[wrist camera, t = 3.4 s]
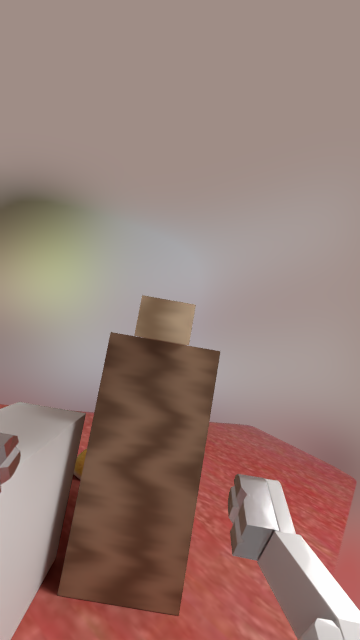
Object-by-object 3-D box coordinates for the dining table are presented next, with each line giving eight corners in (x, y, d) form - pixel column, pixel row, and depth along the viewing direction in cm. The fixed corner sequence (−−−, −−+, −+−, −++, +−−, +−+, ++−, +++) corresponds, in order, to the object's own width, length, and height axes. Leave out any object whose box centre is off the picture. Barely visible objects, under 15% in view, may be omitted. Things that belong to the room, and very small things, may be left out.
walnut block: (57, 595, 25) (110, 332, 27) (99, 504, 38) (132, 336, 41) (178, 615, 25) (220, 351, 27) (176, 517, 39) (204, 349, 41)
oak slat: (134, 335, 18) (142, 295, 19) (155, 340, 40) (159, 322, 40) (188, 345, 18) (195, 304, 19) (180, 345, 40) (183, 326, 41)
